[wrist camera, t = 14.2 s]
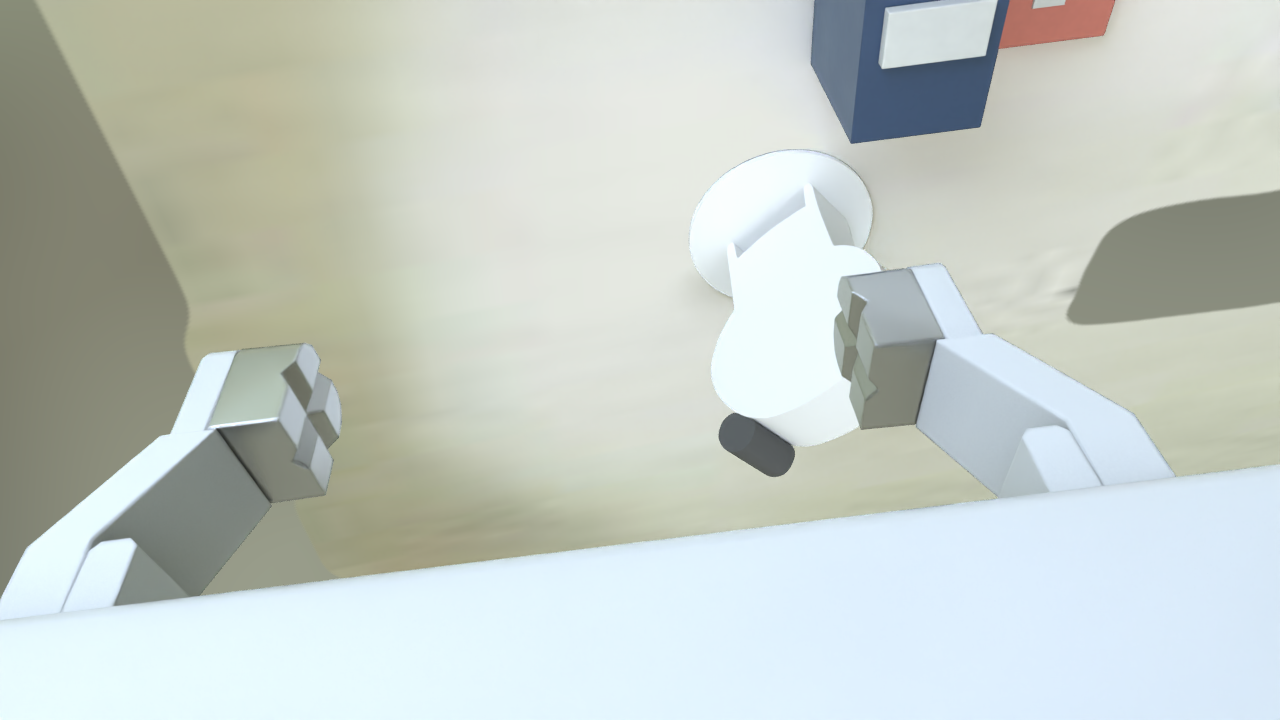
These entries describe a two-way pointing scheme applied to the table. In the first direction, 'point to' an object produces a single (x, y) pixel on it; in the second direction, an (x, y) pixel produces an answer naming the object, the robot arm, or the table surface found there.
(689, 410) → the table surface
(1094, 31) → the tissue packet
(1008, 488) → the robot arm
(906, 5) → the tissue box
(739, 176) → the panda figurine
